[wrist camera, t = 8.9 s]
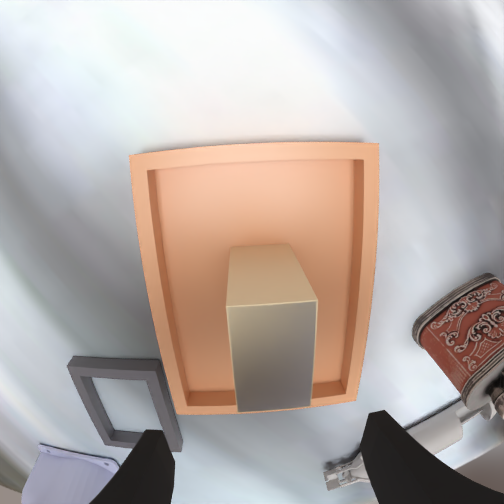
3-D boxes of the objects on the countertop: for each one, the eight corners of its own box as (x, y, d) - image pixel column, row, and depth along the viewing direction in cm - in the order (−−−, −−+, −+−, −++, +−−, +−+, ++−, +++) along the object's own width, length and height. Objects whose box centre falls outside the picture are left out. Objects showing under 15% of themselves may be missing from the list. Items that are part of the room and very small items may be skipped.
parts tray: (181, 394, 20) (177, 414, 18) (141, 154, 15) (129, 155, 13) (347, 382, 20) (355, 400, 18) (363, 143, 16) (378, 143, 14)
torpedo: (488, 369, 22) (525, 411, 16) (485, 398, 23) (515, 438, 17) (315, 456, 24) (329, 515, 17) (328, 476, 25) (340, 529, 19)
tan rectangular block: (237, 330, 18) (237, 412, 12) (230, 246, 16) (225, 306, 10) (289, 327, 18) (311, 406, 12) (289, 243, 16) (318, 299, 10)
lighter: (415, 352, 20) (485, 449, 11) (407, 317, 19) (491, 418, 10) (495, 298, 19) (578, 365, 10) (492, 263, 18) (589, 325, 9)
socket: (108, 435, 22) (105, 445, 21) (73, 356, 19) (66, 365, 18) (183, 441, 22) (181, 452, 21) (159, 359, 19) (155, 371, 18)
